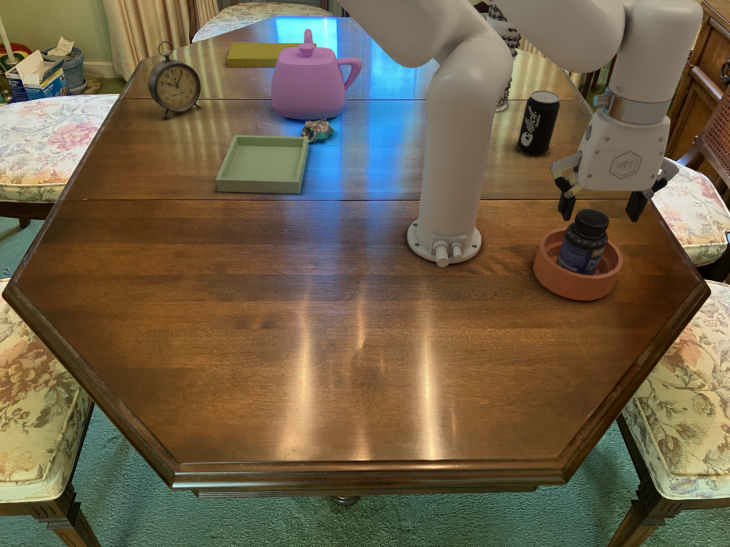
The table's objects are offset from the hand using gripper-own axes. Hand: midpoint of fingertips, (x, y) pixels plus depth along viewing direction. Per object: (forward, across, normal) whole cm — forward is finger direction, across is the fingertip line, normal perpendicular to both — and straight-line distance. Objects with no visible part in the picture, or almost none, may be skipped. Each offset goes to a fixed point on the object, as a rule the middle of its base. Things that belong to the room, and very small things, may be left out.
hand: (597, 216), depth 80 cm
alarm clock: (+10, -79, +54) cm, 96 cm away
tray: (+10, -55, +30) cm, 63 cm away
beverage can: (+12, +1, +41) cm, 43 cm away
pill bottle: (+12, -1, 0) cm, 12 cm away
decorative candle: (+11, -5, +63) cm, 64 cm away
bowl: (+12, -1, 0) cm, 12 cm away
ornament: (+11, -46, +44) cm, 65 cm away
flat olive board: (+10, -62, +89) cm, 109 cm away
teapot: (+11, -49, +58) cm, 77 cm away
